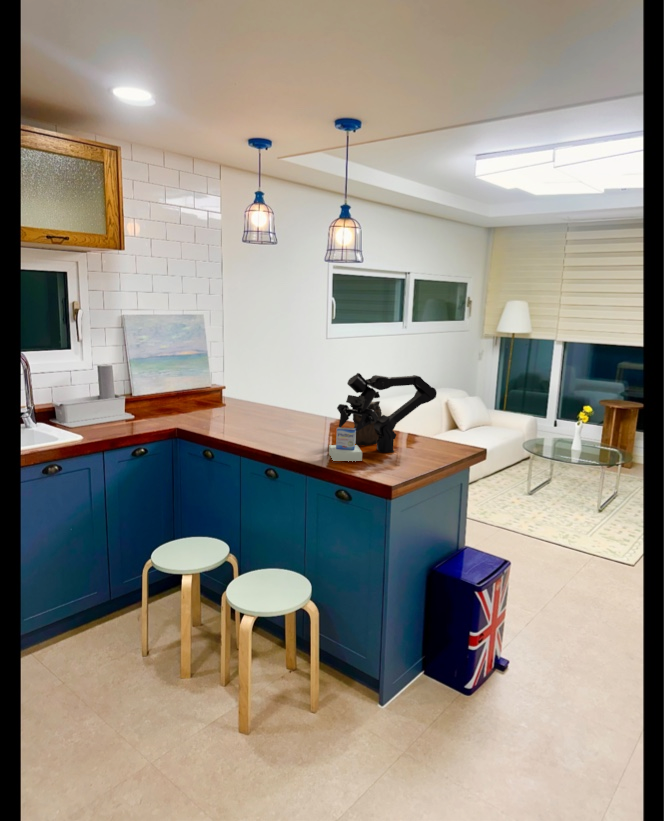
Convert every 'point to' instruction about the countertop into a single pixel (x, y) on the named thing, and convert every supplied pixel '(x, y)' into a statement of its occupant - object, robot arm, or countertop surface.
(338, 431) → the medicine box
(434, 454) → the countertop surface
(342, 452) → the mint block
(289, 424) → the countertop surface
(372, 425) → the owl
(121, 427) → the countertop surface
